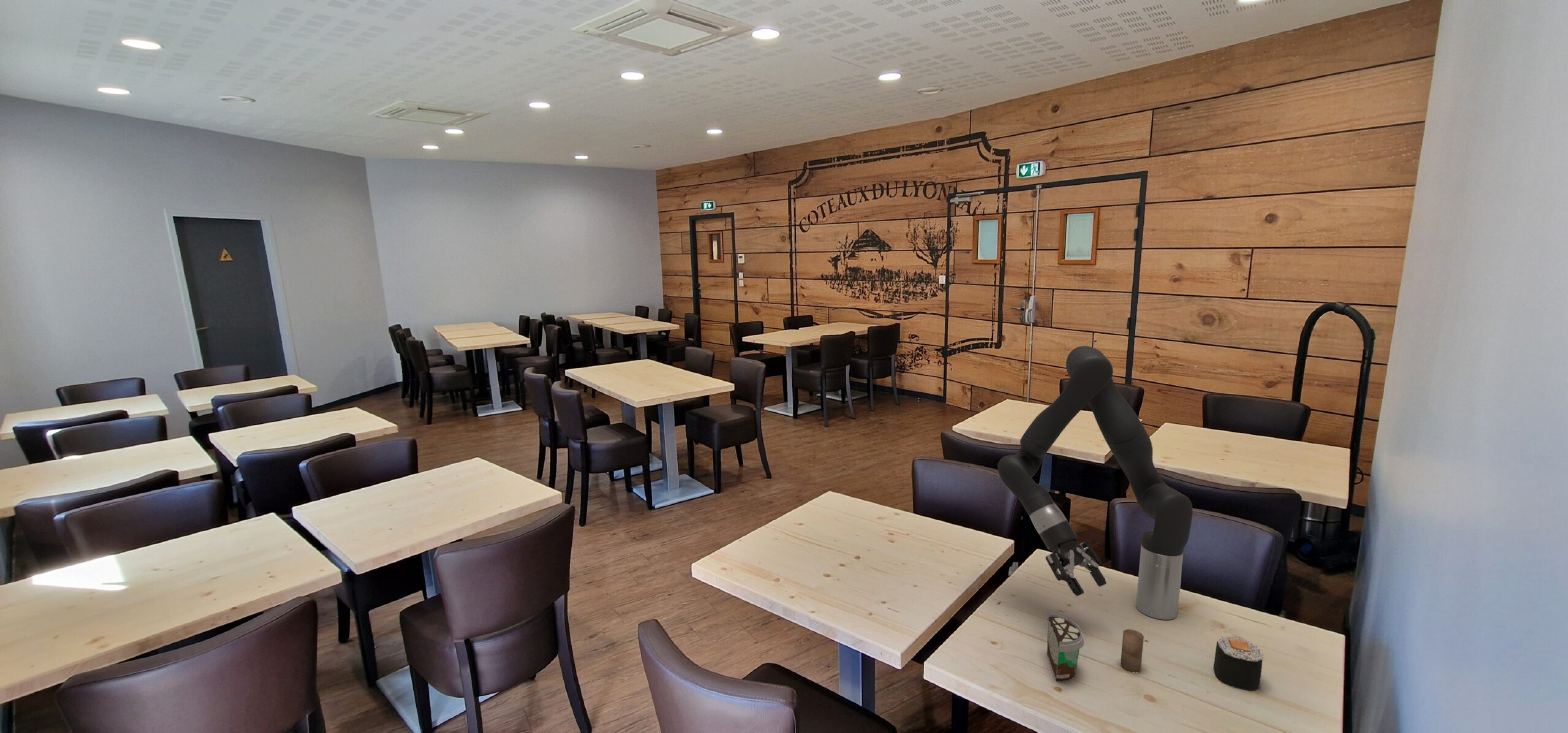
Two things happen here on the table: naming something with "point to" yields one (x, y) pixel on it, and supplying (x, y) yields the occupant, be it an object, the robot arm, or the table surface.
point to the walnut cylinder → (1132, 650)
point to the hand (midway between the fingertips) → (1092, 590)
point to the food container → (1063, 646)
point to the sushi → (1238, 663)
